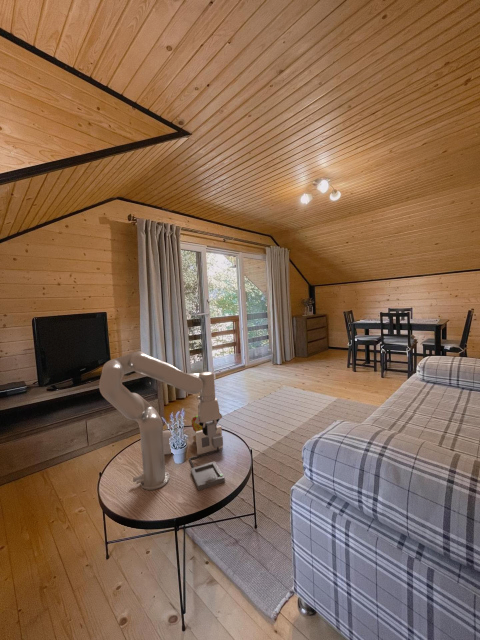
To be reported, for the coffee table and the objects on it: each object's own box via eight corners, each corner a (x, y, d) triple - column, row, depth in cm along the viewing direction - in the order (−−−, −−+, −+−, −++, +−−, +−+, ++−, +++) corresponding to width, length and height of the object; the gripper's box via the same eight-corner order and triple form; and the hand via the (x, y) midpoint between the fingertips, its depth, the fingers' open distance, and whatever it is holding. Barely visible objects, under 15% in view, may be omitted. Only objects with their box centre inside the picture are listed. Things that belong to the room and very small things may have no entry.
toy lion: (215, 444, 153) (214, 418, 152) (208, 448, 149) (206, 421, 148) (197, 436, 163) (195, 412, 162) (190, 440, 159) (188, 415, 158)
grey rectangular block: (208, 438, 131) (207, 426, 130) (203, 432, 137) (203, 420, 137) (216, 436, 132) (215, 424, 132) (211, 430, 139) (210, 418, 138)
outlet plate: (200, 458, 139) (198, 436, 138) (197, 453, 144) (195, 431, 143) (225, 451, 145) (223, 429, 144) (221, 446, 150) (220, 425, 149)
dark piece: (194, 471, 128) (193, 464, 128) (188, 459, 139) (188, 452, 139) (225, 461, 135) (225, 454, 135) (218, 450, 145) (218, 444, 145)
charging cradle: (198, 490, 115) (198, 485, 115) (190, 472, 128) (190, 468, 128) (224, 481, 120) (224, 476, 120) (214, 465, 133) (214, 460, 132)
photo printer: (176, 449, 149) (174, 428, 149) (175, 453, 145) (173, 431, 144) (156, 452, 148) (155, 430, 147) (155, 456, 144) (153, 433, 143)
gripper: (193, 403, 127) (195, 440, 128) (226, 396, 134) (228, 432, 135) (189, 398, 134) (191, 434, 135) (220, 392, 141) (222, 426, 142)
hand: (209, 432), depth 135 cm, fingers closed on grey rectangular block, 4 cm apart
